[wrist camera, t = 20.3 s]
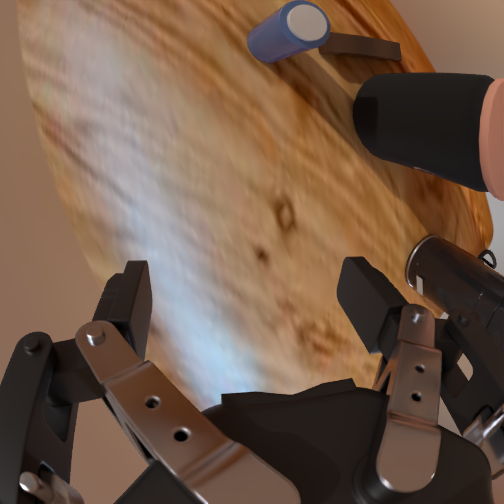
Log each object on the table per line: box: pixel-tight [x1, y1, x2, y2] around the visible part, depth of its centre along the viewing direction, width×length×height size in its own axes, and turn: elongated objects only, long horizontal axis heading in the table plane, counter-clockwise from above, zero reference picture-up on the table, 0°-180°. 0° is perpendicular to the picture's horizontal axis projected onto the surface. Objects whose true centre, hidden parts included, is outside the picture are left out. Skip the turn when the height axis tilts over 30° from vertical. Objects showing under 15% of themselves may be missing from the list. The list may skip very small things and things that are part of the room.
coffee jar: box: [353, 73, 504, 201], centre depth 24 cm, size 11×11×18 cm
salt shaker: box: [247, 0, 330, 63], centre depth 21 cm, size 4×4×8 cm
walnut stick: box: [319, 32, 402, 61], centre depth 27 cm, size 11×2×2 cm, turn 97°
